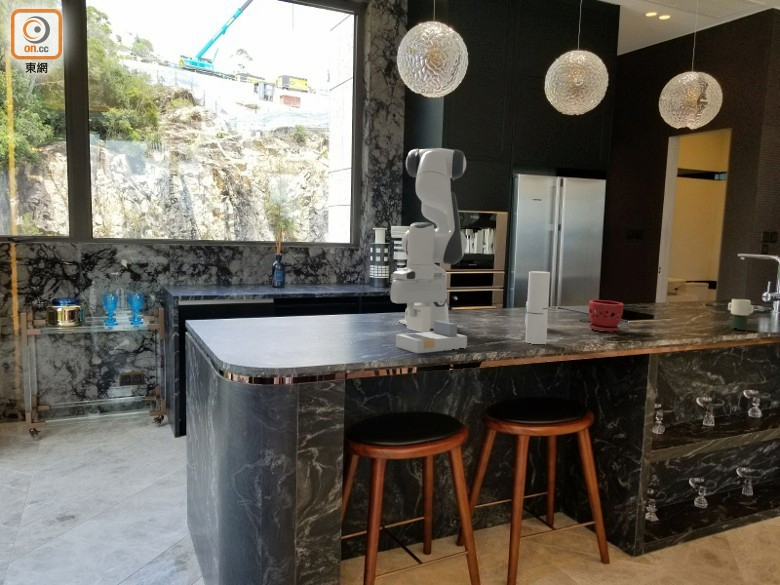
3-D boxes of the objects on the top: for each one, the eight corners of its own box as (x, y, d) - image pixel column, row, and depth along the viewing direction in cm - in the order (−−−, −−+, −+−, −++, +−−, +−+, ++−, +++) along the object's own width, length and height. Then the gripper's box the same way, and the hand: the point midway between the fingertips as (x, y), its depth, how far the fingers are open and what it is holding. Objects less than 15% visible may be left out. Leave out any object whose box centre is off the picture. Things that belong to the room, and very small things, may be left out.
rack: (395, 346, 196) (396, 322, 195) (443, 342, 207) (444, 319, 206) (417, 353, 186) (418, 328, 185) (466, 348, 197) (468, 324, 196)
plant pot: (588, 332, 238) (590, 302, 237) (586, 327, 251) (588, 299, 250) (623, 334, 235) (625, 304, 234) (619, 329, 248) (621, 300, 247)
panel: (430, 331, 190) (430, 306, 189) (422, 332, 188) (423, 306, 188) (414, 327, 197) (415, 303, 197) (406, 328, 196) (407, 303, 195)
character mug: (756, 331, 253) (759, 301, 251) (745, 332, 250) (748, 301, 248) (731, 327, 262) (734, 298, 261) (721, 328, 259) (723, 298, 258)
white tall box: (550, 344, 209) (554, 272, 206) (535, 345, 205) (539, 272, 203) (536, 340, 215) (539, 271, 213) (520, 342, 212) (524, 271, 209)
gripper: (440, 272, 199) (438, 313, 201) (388, 272, 188) (387, 316, 189) (451, 273, 194) (450, 316, 195) (399, 274, 183) (398, 319, 184)
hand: (418, 316), depth 192 cm, fingers closed on panel, 3 cm apart
